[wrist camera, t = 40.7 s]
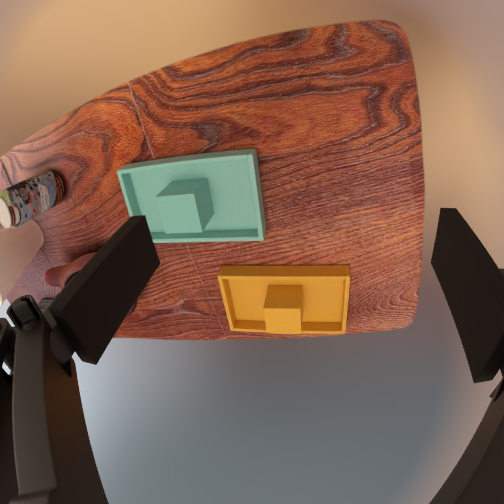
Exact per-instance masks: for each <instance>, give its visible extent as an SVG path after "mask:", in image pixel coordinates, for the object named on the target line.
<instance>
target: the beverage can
mask: <svg viewBox="0 0 504 504" xmlns="http://www.w3.org/2000/svg"><path fill="white" fill-rule="evenodd" d="M63 192H64V188H63V183H62V181H61V179H60V177H59V176H58V175H57V174H56V173H55V172H54V171H52V170H47V171H44V172H42V173H40V174H37V175H35V176H33V177H31V178H28V179H26V180H24V181H22V182H20V183H18V184H15V185H13V186H11V187H9V188H7V189H5V190H3V191H2V192H1V193H0V223H1V225H2V226H3V227H4V228H6V229H8V228H17V227H19V226H21V225H22V224H24V223H26V222H28V221H29V220H31V219H33V218H34V217H36V216H38V215H40V214H42V213H43V212H45V211H47V210H49V209H51V208H52V207H54V206H56V205H58V204H60V203H61V201H62V199H63Z"/></svg>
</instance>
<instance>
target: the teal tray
mask: <svg viewBox="0 0 504 504" xmlns="http://www.w3.org/2000/svg"><path fill="white" fill-rule="evenodd" d="M117 174H118V178H119V181H120V185H121V188H122V192H123V195H124V198H125V202H126V205H127V208H128V211H129V214H130V217H131V216H138V215H145V216H146V220H147V223H148V226H149V230H150V233H151V236H152V239H153V242H154V243H170V242H220V241H264V238H265V234H266V231H267V230H266V222H265V213H264V205H263V197H262V189H261V181H260V173H259V165H258V157H257V150H256V148H255V149H242V150H231V151H220V152H211V153H202V154H193V155H185V156H178V157H170V158H163V159H156V160H150V161H143V162H137V163H131V164H126V165H125V166H123V167H122V168H120V169H119V170H117ZM200 178H207V179H208V185H209V190H210V195H211V200H212V205H213V210H214V214H213V216H212V218H211V219H210V221H209V223H208V224H207V226H206V227H205V229H204V231H203V232H199V233H168V234H165V230H164V227H163V223H162V220H161V216H160V213H159V209H158V205H157V202H156V198H155V197H156V196H157V195H158V194H159V193H160V192H161V191H162V190H163V189H164V188H165V187H166V186H167V185H168V184H169V183H170V182H171V181H180V180H190V179H200Z"/></svg>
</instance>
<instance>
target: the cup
mask: <svg viewBox="0 0 504 504" xmlns="http://www.w3.org/2000/svg"><path fill="white" fill-rule="evenodd" d="M43 243H44V237H43V233H42V231H41V229H40V227H39V226H38V224H37V223H36V222H35V221H34V220H32V219H31V220H29V221H28V222H26V223H24V224H22V225H21V226H19V227H17V228H8V229H6V228H4V229H2V230H0V307H1V306H2V305H3V302H4V300H5V299H6V297H7V296H8V294H9V293H10V291H11V290H12V288H13V287H14V286H15V284H16V283H17V281H18V280H19V278H20V277H21V275H22V274H23V273H24V271H25V270H26V269H27V267H28V266H29V264H30V263H31V262H32V260H33V259H34V258H35V256H36V255H37V253H38V250H39V249H40V248H41V247H42V245H43Z"/></svg>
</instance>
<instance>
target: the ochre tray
mask: <svg viewBox="0 0 504 504" xmlns="http://www.w3.org/2000/svg"><path fill="white" fill-rule="evenodd" d="M218 280H219V284H220V289H221V293H222V297H223V301H224V305H225V309H226V313H227V317H228V321H229V325H230V329H231V331H248V332H267V330H266V324H265V318H264V311H263V306H264V302H265V298H266V293H267V289H268V285H302V286H303V306H304V312H303V324H302V333H315V334H341V333H342V334H345V329H346V320H347V309H348V298H349V286H350V270H349V265H297V266H240V265H222V267H221V269H220V271H219V274H218Z"/></svg>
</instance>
